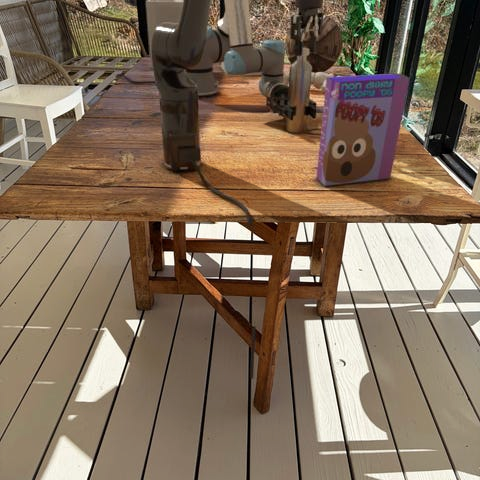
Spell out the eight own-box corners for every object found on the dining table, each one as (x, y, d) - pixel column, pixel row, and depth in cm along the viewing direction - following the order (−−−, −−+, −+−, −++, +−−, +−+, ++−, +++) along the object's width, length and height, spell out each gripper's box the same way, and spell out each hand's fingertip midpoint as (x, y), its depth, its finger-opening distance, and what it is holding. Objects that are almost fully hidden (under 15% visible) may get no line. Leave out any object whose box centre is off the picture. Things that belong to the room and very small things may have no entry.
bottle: (306, 126, 150) (313, 50, 139) (307, 133, 145) (313, 54, 133) (286, 126, 151) (290, 49, 139) (285, 132, 145) (290, 53, 134)
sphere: (341, 70, 223) (348, 11, 211) (336, 82, 203) (343, 17, 190) (288, 66, 229) (292, 9, 216) (278, 77, 208) (281, 14, 196)
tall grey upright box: (195, 63, 233) (193, -1, 218) (192, 69, 220) (189, 2, 206) (156, 62, 233) (152, -2, 219) (150, 68, 221) (145, 1, 206)
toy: (311, 101, 176) (313, 82, 172) (274, 86, 194) (275, 69, 190) (361, 94, 186) (364, 75, 182) (322, 80, 204) (323, 63, 201)
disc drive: (278, 75, 213) (279, 63, 210) (229, 76, 208) (229, 64, 206) (267, 67, 228) (267, 55, 225) (221, 68, 223) (221, 57, 220)
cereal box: (324, 186, 112) (336, 81, 99) (316, 178, 116) (326, 76, 103) (390, 178, 116) (409, 77, 103) (379, 171, 120) (397, 72, 107)
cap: (312, 54, 136) (312, 48, 136) (302, 56, 134) (303, 50, 133) (301, 52, 139) (301, 47, 138) (291, 54, 137) (292, 48, 136)
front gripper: (308, -11, 120) (303, 59, 129) (335, -13, 130) (328, 52, 139) (283, -12, 124) (280, 55, 133) (311, -14, 134) (306, 49, 142)
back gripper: (306, 105, 164) (332, 125, 144) (251, 107, 160) (271, 129, 140) (308, 82, 160) (335, 100, 140) (252, 84, 156) (272, 103, 137)
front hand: (304, 53), depth 136 cm, fingers open, 6 cm apart
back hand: (303, 114), depth 140 cm, fingers closed on bottle, 6 cm apart
